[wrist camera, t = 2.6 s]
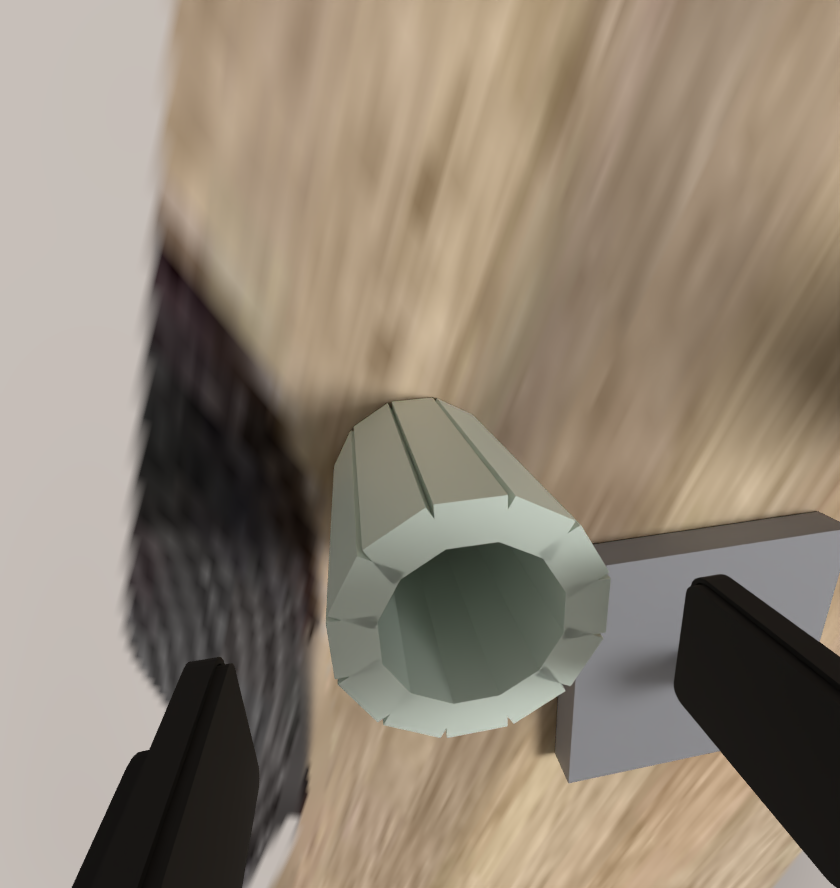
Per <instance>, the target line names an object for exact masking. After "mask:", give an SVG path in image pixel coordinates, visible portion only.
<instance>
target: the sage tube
mask: <svg viewBox="0 0 840 888" xmlns="http://www.w3.org/2000/svg"><path fill="white" fill-rule="evenodd" d="M608 573H609V571H608V569H607V567H606V566H605V564H604V562H603V561H602V559H601V557H600V556H599V554H598V552H597V551H596V549H595V548H594V546H593V544H592V543H591V541H590V539H589V538H588V536H587V534H586V533H585V531H584V529H583V528H582V526H581V525H580V524H579V523H578V522H577V521H576V520H575V519H574V518H573V517H572V516H571V514H570V513H569V512H568V511H567V510H566V509H565V508H564V507H563V506H562V505H561V504H560V503H559V502H558V501H557V500H556V499H555V498H554V497H553V496H552V495H551V494H550V493H549V492H548V491H547V490H546V489H545V488H544V487H543V486H542V485H541V484H540V483H539V482H538V481H537V480H536V479H535V478H534V477H533V476H532V475H531V474H530V473H529V472H528V471H527V470H526V469H525V468H524V467H523V466H522V464H521V463H520V462H519V461H518V460H517V459H516V458H515V457H514V456H513V455H512V454H511V453H510V452H509V451H508V450H507V449H506V448H505V447H504V446H503V445H502V444H501V443H500V442H499V441H498V440H497V439H496V438H495V437H494V436H493V435H492V434H491V433H490V432H489V431H488V430H487V429H486V428H485V427H484V426H483V425H482V424H481V423H480V422H479V421H478V420H477V419H476V418H475V417H474V416H473V415H472V414H470V413H468V412H466V411H464V410H462V409H459V408H457V407H455V406H453V405H451V404H448V403H446V402H444V401H442V400H440V399H438V398H437V399H436V401H435V400H434V399H433V398H422V399H412V400H402V401H392V409H391V407H390V406H389V405H388V403H387V404H385V405H384V406H382V407H381V408H380V409H378V410H377V411H375V412H374V413H372V414H371V415H370V416H368V417H367V418H365V419H364V420H362V421H361V422H359V423H358V424H357V425H355V426H354V431H352V430H350V433H349V435H348V437H347V439H346V441H345V443H344V446H343V448H342V450H341V452H340V454H339V456H338V459H337V461H336V463H335V465H334V474H333V493H332V512H331V532H330V551H329V570H328V589H327V608H326V628H327V634H328V640H329V646H330V652H331V659H332V665H333V671H334V677H335V679H338V685H339V686H340V687H341V688H342V689H343V690H344V691H345V692H346V693H347V694H348V695H349V696H351V697H352V698H353V699H354V700H355V701H356V702H357V703H358V704H359V705H360V706H361V707H362V708H363V709H364V710H365V711H367V712H368V713H369V714H370V715H371V716H372V717H373V718H374V719H375V720H376V721H377V722H379V721H380V720H382V719H383V725H386V726H390V727H395V728H399V729H403V730H408V731H412V732H417V733H421V734H426V735H430V736H434V737H439V738H441V736H442V735H443V733H444V731H445V730H446V735H447V738H449V737H454V736H460V735H465V734H470V733H475V732H480V731H485V730H490V729H496V728H501V727H506V726H507V716H508V718H509V719H510V720H511V721H512V722H513V723H516V722H517V721H519V720H520V719H522V718H524V717H525V716H527V715H528V714H530V713H532V712H533V711H535V710H536V709H538V708H539V707H541V706H543V705H544V704H546V703H547V702H549V701H550V700H552V699H554V698H555V697H557V696H558V695H560V694H562V693H563V692H565V689H564V687H563V685H562V684H564V685H568V686H571V685H572V683H573V682H574V681H575V679H576V678H577V676H578V675H579V673H580V672H581V670H582V669H583V667H584V666H585V665H586V663H587V662H588V660H589V659H590V657H591V656H592V654H593V653H594V652H595V650H596V649H597V647H598V646H599V644H600V643H601V641H602V640H603V637H602V635H601V634H600V633H606V625H607V615H608V604H609V593H610V582H611V578H610V577H609V576H608V575H607V574H608Z"/></svg>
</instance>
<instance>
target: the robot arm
mask: <svg viewBox="0 0 840 888" xmlns="http://www.w3.org/2000/svg"><path fill="white" fill-rule="evenodd" d="M674 691H675V694H676V696H677V698H678V700H679V702H680V703H681V704H682V706H683V707H684V708H685V709H686V710H687V712H688V713H689V714H690V715H691V716H692V718H693V719H694V720H695V721H696V722H697V724H698V725H699V726H700V727H701V728H702V730H703V731H704V732H705V733H706V734H707V736H708V737H709V738H710V739H711V740H712V742H713V743H714V744H715V745H716V746H717V748H718V749H719V750H720V751H721V753H722V754H723V755H724V756H725V757H726V759H727V760H728V761H729V762H730V763H731V765H732V766H733V767H734V768H735V769H736V771H737V772H738V773H739V774H740V775H741V777H742V778H743V779H744V780H745V781H746V783H747V784H748V785H749V786H750V787H751V789H752V790H753V791H754V792H755V793H756V795H757V796H758V797H759V798H760V799H761V801H762V802H763V803H764V804H765V805H766V807H767V808H768V809H769V810H770V811H771V813H772V814H773V815H774V816H775V817H776V819H777V820H778V821H779V822H780V823H781V825H782V826H783V827H784V828H785V829H786V831H787V832H788V833H789V834H790V835H791V837H792V838H793V839H794V840H795V842H796V843H797V844H798V845H799V846H800V848H801V849H802V850H803V851H804V852H805V854H806V855H807V856H808V857H809V858H810V859H811V861H812V862H813V863H814V864H815V866H816V867H817V868H818V869H819V870H820V872H821V873H822V874H823V875H824V876H825V877H826V879H827V880H828V881H829V882H830V883H831V884H833V885H834V886H835V887H837V888H840V657H839V656H838V655H837V654H835V653H834V652H833V651H831V650H830V649H828V648H827V647H826V646H824V645H823V644H821V643H820V642H819V641H817V640H816V639H815V638H813V637H812V636H810V635H809V634H808V633H806V632H805V631H804V630H802V629H801V628H799V627H798V626H797V625H795V624H794V623H793V622H791V621H790V620H788V619H787V618H786V617H784V616H783V615H781V614H780V613H779V612H777V611H776V610H775V609H773V608H772V607H770V606H769V605H768V604H766V603H765V602H764V601H762V600H761V599H759V598H758V597H757V596H755V595H754V594H753V593H751V592H750V591H748V590H747V589H746V588H744V587H743V586H741V585H740V584H739V583H737V582H736V581H735V580H733V579H732V578H730V577H729V576H727V575H724V574H717V575H711V576H705V577H699V578H696V579H694V580H693V581H692V584H691V586H690V587H688V589H687V591H686V596H685V603H684V610H683V618H682V625H681V632H680V640H679V647H678V654H677V661H676V669H675V676H674ZM258 789H259V766H258V762H257V758H256V753H255V749H254V745H253V741H252V737H251V733H250V729H249V725H248V720H247V716H246V712H245V708H244V704H243V700H242V696H241V692H240V688H239V683H238V679H237V675H236V671H235V668H234V665H233V664H224V661H223V659H222V658H221V657H217V658H211V659H205V660H199V661H192V662H188V663H187V664H186V666H185V667H184V669H183V672H182V674H181V676H180V679H179V681H178V683H177V686H176V688H175V690H174V693H173V695H172V698H171V700H170V702H169V705H168V707H167V709H166V712H165V714H164V716H163V719H162V721H161V724H160V726H159V728H158V731H157V733H156V735H155V738H154V740H153V742H152V745H151V747H150V750H146V751H142V752H138V753H137V754H136V755H135V756H134V757H133V758H132V759H131V761H130V763H129V764H128V766H127V768H126V770H125V772H124V774H123V776H122V779H121V781H120V783H119V785H118V787H117V790H116V792H115V794H114V796H113V798H112V800H111V803H110V805H109V807H108V809H107V812H106V814H105V816H104V818H103V820H102V822H101V825H100V827H99V829H98V831H97V833H96V836H95V838H94V840H93V842H92V844H91V847H90V849H89V851H88V853H87V855H86V858H85V860H84V862H83V864H82V866H81V868H80V871H79V873H78V875H77V877H76V880H75V882H74V884H73V886H72V888H242V884H243V878H244V872H245V867H246V861H247V855H248V849H249V843H250V837H251V831H252V825H253V819H254V813H255V807H256V801H257V795H258Z"/></svg>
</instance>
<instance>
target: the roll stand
mask: <svg viewBox="0 0 840 888" xmlns="http://www.w3.org/2000/svg"><path fill="white" fill-rule="evenodd" d="M593 546H594V548H595V549H596V551H597V552H598V554H599V556H600V557H601V559H602V561H603V562H604V564H605V566H606V567H607V569H608V571H609V573H608V574H607V575H608V576H609V577H610V578H611V582H610V593H609V604H608V615H607V625H606V633H600V634H601V635H602V637H603V640H602V641H601V643H600V644H599V646H598V647H597V649H596V650H595V652H594V653H593V654H592V656H591V657H590V659H589V660H588V662H587V663H586V665H585V666H584V667H583V669H582V670H581V672H580V673H579V675H578V676H577V678H576V679H575V681H574V682H573V683H572V685H571V686H568V685H564V684H562V685H563V687H564V689H565V692H563V693H562V694H560V695H558V705H557V725H556V744H555V754H556V757H557V759H558V761H559V763H560V765H561V768H562V770H563V772H564V774H565V777H566V779H567V781H568V783H572V782H577V781H582V780H586V779H591V778H596V777H600V776H605V775H610V774H614V773H619V772H624V771H628V770H633V769H638V768H642V767H647V766H652V765H656V764H661V763H666V762H670V761H675V760H680V759H684V758H689V757H694V756H699V755H703V754H708V753H713V752H717V751H720V750H719V749H718V748H717V746H716V745H715V744H714V743H713V742H712V740H711V739H710V738H709V737H708V736H707V734H706V733H705V732H704V731H703V730H702V728H701V727H700V726H699V725H698V724H697V722H696V721H695V720H694V719H693V718H692V716H691V715H690V714H689V713H688V712H687V710H686V709H685V708H684V707H683V706H682V704H681V703H680V702H679V700H678V698H677V696H676V694H675V691H674V676H675V669H676V661H677V654H678V647H679V640H680V632H681V625H682V618H683V610H684V603H685V596H686V591H687V589H688V587H690V586H691V584H692V581H693V580H694V579H696V578H699V577H705V576H711V575H717V574H724V575H727V576H729V577H730V578H732V579H733V580H735V581H736V582H737V583H739V584H740V585H741V586H743V587H744V588H746V589H747V590H748V591H750V592H751V593H753V594H754V595H755V596H757V597H758V598H759V599H761V600H762V601H764V602H765V603H766V604H768V605H769V606H770V607H772V608H773V609H775V610H776V611H777V612H779V613H780V614H781V615H783V616H784V617H786V618H787V619H788V620H790V621H791V622H793V623H794V624H795V625H797V626H798V627H799V628H801V629H802V630H804V631H805V632H806V633H808V634H809V635H810V636H812V637H813V638H815V639H816V640H817V641H819V642H820V638H821V635H822V631H823V628H824V624H825V621H826V617H827V614H828V611H829V607H830V604H831V600H832V597H833V593H834V590H835V586H836V583H837V580H838V576H839V573H840V522H839V521H837V520H835V519H833V518H831V517H829V516H827V515H825V514H823V513H820V512H811V513H804V514H797V515H790V516H783V517H777V518H770V519H763V520H756V521H749V522H742V523H736V524H729V525H722V526H715V527H708V528H701V529H695V530H688V531H681V532H674V533H667V534H660V535H654V536H647V537H640V538H633V539H626V540H619V541H613V542H606V543H599V544H593Z"/></svg>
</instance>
